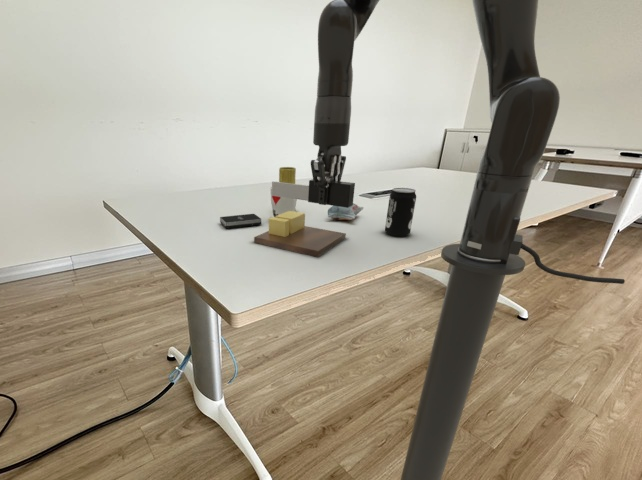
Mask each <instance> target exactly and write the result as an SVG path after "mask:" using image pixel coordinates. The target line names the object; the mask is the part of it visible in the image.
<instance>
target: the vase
mask: <svg viewBox="0 0 642 480" xmlns="http://www.w3.org/2000/svg"><path fill="white" fill-rule="evenodd" d="M296 170H297V169H296V167H293V166H281V167H279V168H278V171H279V172H278V182H282V183H291V184H296V173H297V172H296ZM296 210H297V209H295V211H294V212H297V211H296Z"/></svg>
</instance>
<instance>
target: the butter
mask: <svg viewBox="0 0 642 480" xmlns="http://www.w3.org/2000/svg"><path fill="white" fill-rule="evenodd" d="M276 218H281V219H287V220H289V233H290V234H292V233H294V232H296V231H298V230H300V229H302V228H304V227H305V226H306V225H305V223H306V213H305V212H299V211H296V212H294V211H288V212H285V213H282V214H280V215H277V216H276Z"/></svg>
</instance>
